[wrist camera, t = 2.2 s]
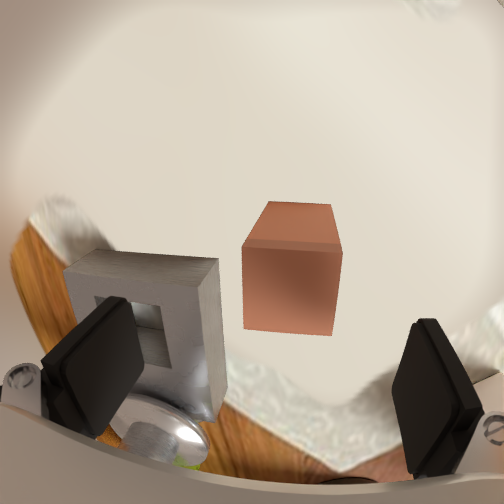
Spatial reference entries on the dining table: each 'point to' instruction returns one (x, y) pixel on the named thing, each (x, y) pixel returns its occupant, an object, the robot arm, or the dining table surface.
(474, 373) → the dining table surface
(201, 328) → the slotted block
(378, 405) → the dining table surface
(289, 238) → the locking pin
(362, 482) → the pillar candle
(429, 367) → the robot arm
